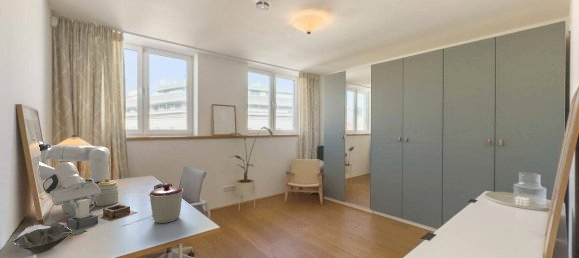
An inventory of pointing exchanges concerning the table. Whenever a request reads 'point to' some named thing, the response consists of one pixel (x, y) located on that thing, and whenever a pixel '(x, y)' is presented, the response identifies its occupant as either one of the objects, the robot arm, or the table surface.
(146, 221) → the table surface
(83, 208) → the plug
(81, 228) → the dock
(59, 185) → the robot arm
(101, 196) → the jar
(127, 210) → the brown open box
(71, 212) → the teacup
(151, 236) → the table surface
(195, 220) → the table surface
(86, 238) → the table surface
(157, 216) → the canister
